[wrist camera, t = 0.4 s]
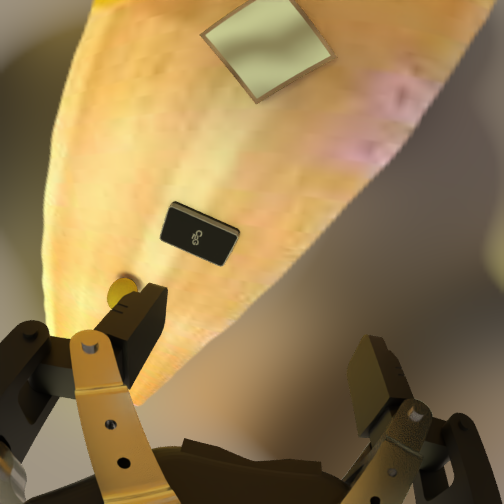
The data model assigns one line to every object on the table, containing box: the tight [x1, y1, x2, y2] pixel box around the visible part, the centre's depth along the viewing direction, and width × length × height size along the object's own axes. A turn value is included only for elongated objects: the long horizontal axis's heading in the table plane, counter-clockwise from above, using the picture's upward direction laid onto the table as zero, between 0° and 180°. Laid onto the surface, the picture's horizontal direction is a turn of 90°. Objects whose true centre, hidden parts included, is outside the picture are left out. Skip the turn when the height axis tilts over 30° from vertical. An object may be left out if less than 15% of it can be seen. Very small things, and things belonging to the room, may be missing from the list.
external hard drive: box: [160, 202, 240, 266], centre depth 45 cm, size 7×11×2 cm, turn 66°
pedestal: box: [200, 0, 337, 104], centre depth 26 cm, size 10×10×4 cm
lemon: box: [107, 278, 138, 309], centre depth 52 cm, size 6×6×8 cm
